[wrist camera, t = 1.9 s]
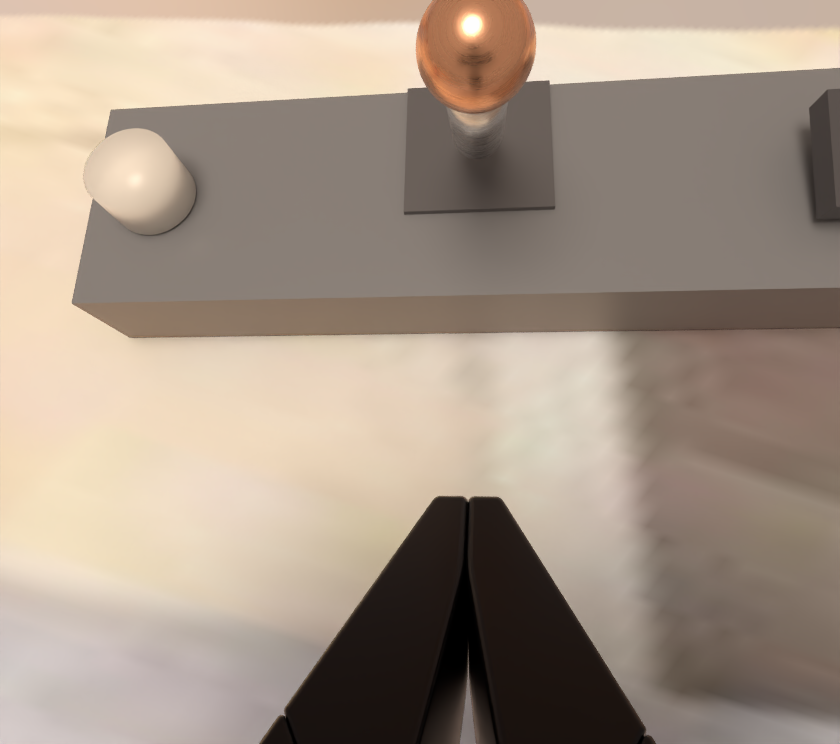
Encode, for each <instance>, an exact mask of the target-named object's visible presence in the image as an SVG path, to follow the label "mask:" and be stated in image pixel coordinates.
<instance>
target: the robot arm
mask: <svg viewBox="0 0 840 744" xmlns="http://www.w3.org/2000/svg"><path fill="white" fill-rule="evenodd" d="M468 650H469V679H470V692H471V702H472V712H473V721H474V730H475V739H476V744H656V743H655V741H654V740H653V738H652V737H651V736H649V735H647V736H645V735H646V728H645V726H644V724H643V723H642V721H641V720H640V718H639V716H638V715H637V713H636V712H635V710H634V708H633V707H632V705H631V704H630V702H629V700H628V699H627V697H626V696H625V694H624V692H623V691H622V689H621V688H620V686H619V684H618V683H617V681H616V680H615V678H614V677H613V675H612V673H611V672H610V670H609V669H608V667H607V665H606V664H605V662H604V661H603V659H602V657H601V656H600V654H599V653H598V651H597V649H596V648H595V646H594V645H593V643H592V642H591V640H590V638H589V637H588V635H587V634H586V632H585V630H584V629H583V627H582V626H581V624H580V622H579V621H578V619H577V618H576V616H575V614H574V613H573V611H572V610H571V608H570V606H569V605H568V603H567V602H566V600H565V599H564V597H563V595H562V594H561V592H560V591H559V589H558V587H557V586H556V584H555V583H554V581H553V579H552V578H551V576H550V575H549V573H548V571H547V570H546V568H545V567H544V565H543V563H542V562H541V560H540V559H539V557H538V556H537V554H536V552H535V551H534V549H533V548H532V546H531V544H530V543H529V541H528V540H527V538H526V536H525V535H524V533H523V532H522V530H521V528H520V527H519V525H518V524H517V522H516V521H515V519H514V517H513V516H512V514H511V513H510V511H509V509H508V508H507V506H506V505H505V503H504V502H503V500H502V499H501V498H499V497H477V496H474V497H471V498H470V499H469V502H468V500H467V499H466V498H465V497H463V496H438V497H436V498H434V500H433V501H432V502H431V504H430V505H429V506H428V508H427V509H426V511H425V512H424V513H423V515H422V516H421V518H420V519H419V520H418V522H417V523H416V525H415V526H414V527H413V529H412V530H411V532H410V533H409V534H408V536H407V537H406V539H405V540H404V541H403V543H402V544H401V546H400V547H399V548H398V550H397V551H396V553H395V554H394V555H393V557H392V558H391V560H390V561H389V563H388V564H387V565H386V567H385V568H384V570H383V571H382V572H381V574H380V575H379V577H378V578H377V579H376V581H375V582H374V584H373V585H372V586H371V588H370V589H369V591H368V592H367V593H366V595H365V596H364V598H363V599H362V600H361V602H360V603H359V605H358V606H357V607H356V609H355V610H354V612H353V613H352V614H351V616H350V617H349V619H348V620H347V621H346V623H345V624H344V626H343V627H342V628H341V630H340V631H339V633H338V634H337V635H336V637H335V638H334V640H333V641H332V642H331V644H330V645H329V647H328V648H327V649H326V651H325V652H324V654H323V655H322V656H321V658H320V659H319V661H318V662H317V664H316V665H315V666H314V668H313V669H312V671H311V672H310V673H309V675H308V676H307V678H306V679H305V680H304V682H303V683H302V685H301V686H300V687H299V689H298V690H297V692H296V693H295V694H294V696H293V697H292V699H291V700H290V701H289V703H288V704H287V706H286V707H285V709H284V714H285V716H283V715H280V716H279V717H278V718H277V719H276V720H275V722H274V723H273V725H272V726H271V727H270V729H269V730H268V732H267V733H266V735H265V736H264V737H263V739H262V740H261V742H260V743H259V744H460V736H461V729H462V721H463V713H464V705H465V697H466V687H467V677H468Z"/></svg>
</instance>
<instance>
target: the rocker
mask: <svg viewBox="0 0 840 744" xmlns="http://www.w3.org/2000/svg"><path fill="white" fill-rule="evenodd" d="M809 115H810V129H811V143H812V157H813V172H814V186H815V200H816V214H817V219H840V89H827V90H826V91H825V92H824V93H823V94H822V95H821V96H820V97H819V98H818V99H817V100H816V101H815V102H814V103H813V104H812V105H811V106H810V107H809Z"/></svg>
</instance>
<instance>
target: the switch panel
mask: <svg viewBox="0 0 840 744" xmlns="http://www.w3.org/2000/svg"><path fill="white" fill-rule="evenodd" d="M827 89H840V68H832V69H814V70H797V71H779V72H762V73H744V74H727V75H710V76H692V77H675V78H657V79H640V80H622V81H605V82H588V83H570V84H553V85H550V83H549V81H532V82H525V83H524V85H523V86H522V88H521V89H520V90H519V92H518V93H517V94H516V95H515V96H514V97H513V98H512V99H511V100H509V101H508V105H507V112H506V119H505V126H504V132H503V138H502V141H501V144H500V146H499V147H498V149H497V150H496V151H495V152H494V153H493V154H492V155H490V156H488V157H486V158H484V159H470V158H468V157H466V156H464V155H463V154H461V153H460V152H459V150H458V149H457V148H456V146H455V144H454V141H453V137H452V132H451V127H450V122H449V117H448V112H447V107H446V106H445V105H444V104H442V103H441V102H439V101H438V100H437V99H436V98H435V97H434V96H433V95H432V94H431V93H430V91H429V90H428V88H411V89H408V93H396V94H378V95H361V96H343V97H326V98H309V99H291V100H274V101H256V102H239V103H221V104H204V105H187V106H169V107H152V108H134V109H117V110H111V111H110V116H109V121H108V126H107V131H106V136H105V138H107V137H108V136H110V135H112V134H114V133H116V132H119V131H122V130H126V129H132V128H141V129H146V130H150V131H152V132H155V133H156V134H158V135H159V136H160V137H161V138H162V139H163V140H164V141H165V142H166V143H167V145H168V146H169V147H170V148H171V150H172V151H173V152H174V154H175V155H176V156H177V157H178V159H179V160H180V161H181V162H182V164H183V165H184V166H185V167H186V169H187V170H188V171H189V173H190V174H191V175H192V177H193V179H194V182H195V185H196V197H195V201H194V204H193V206H192V208H191V210H190V212H189V213H188V215H187V216H186V217H185V218H184V219H183V220H182V221H181V222H180V223H179V224H178V225H176V226H175V227H173V228H172V229H170V230H168V231H166V232H163V233H160V234H155V235H142V234H137V233H134V232H132V231H130V230H129V229H127V228H126V227H125V226H123V225H122V224H121V223H120V222H119V221H118V220H117V219H116V218H114V217H113V216H112V215H111V214H110V213H109V212H108V211H107V210H105V209H104V208H103V207H102V206H101V205H100V204H99V203H98V202H96V201H95V200H94V199H93V200H92V205H91V210H90V215H89V220H88V225H87V230H86V235H85V240H84V245H83V250H82V255H81V259H80V264H79V269H78V274H77V279H76V284H75V289H74V294H73V299H72V304H73V305H75V306H77V307H79V308H80V309H82V310H84V311H85V312H87V313H89V314H91V315H92V316H94V317H96V318H97V319H99V320H101V321H102V322H104V323H106V324H108V325H109V326H111V327H113V328H114V329H116V330H118V331H120V332H121V333H123V334H125V335H126V336H128V337H198V336H270V335H341V334H413V333H485V332H557V331H629V330H701V329H773V328H840V219H817V214H816V200H815V186H814V172H813V157H812V143H811V129H810V115H809V107H810V106H811V105H812V104H813V103H814V102H815V101H816V100H817V99H818V98H819V97H820V96H821V95H822V94H823V93H824V92H825V91H826V90H827Z"/></svg>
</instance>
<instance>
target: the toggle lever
mask: <svg viewBox="0 0 840 744" xmlns="http://www.w3.org/2000/svg"><path fill="white" fill-rule="evenodd" d="M535 52H536V32H535V27H534V23H533V20H532V17H531V14H530V12H529V10H528V7H527V6H526V4H525V3H524V1H523V0H433V1H432V2H431V4H430V5H429V6H428V8H427V9H426V11H425V13H424V15H423V17H422V20H421V22H420V25H419V29H418V33H417V39H416V58H417V64H418V69H419V72H420V75H421V77H422V79H423V81H424V83H425V85H426V87H427V88H428V90H429V91H430V93H431V94H432V95H433V96H434V97H435V98H436V99H437V100H438V101H439V102H441V103H442V104H444V105H445V106H446V107H447V112H448V117H449V122H450V127H451V132H452V137H453V141H454V144H455V146H456V148H457V149H458V150H459V152H460V153H461V154H463V155H464V156H466V157H468V158H470V159H484V158H486V157H488V156H490V155H492V154H493V153H494V152H495V151H496V150H497V149H498V147H499V146H500V144H501V141H502V138H503V132H504V126H505V119H506V112H507V105H508V101H509V100H511V99H512V98H513V97H514V96H515V95H516V94H517V93H518V92H519V90H520V89H521V88H522V86H523V85H524V83H525V82H526V80H527V78H528V76H529V74H530V71H531V69H532V66H533V63H534V58H535Z"/></svg>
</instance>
